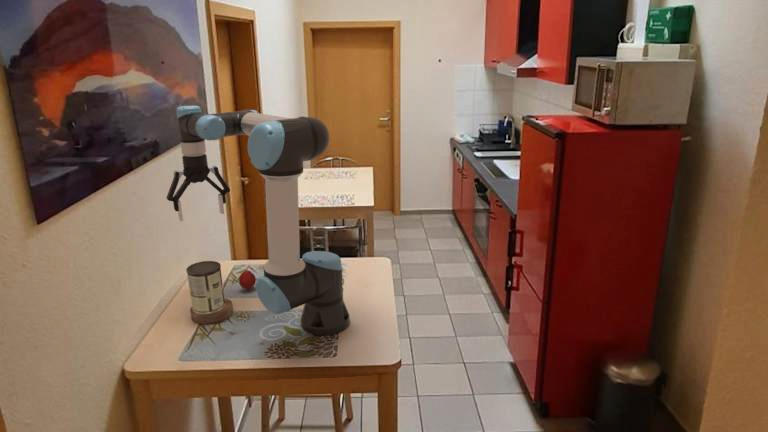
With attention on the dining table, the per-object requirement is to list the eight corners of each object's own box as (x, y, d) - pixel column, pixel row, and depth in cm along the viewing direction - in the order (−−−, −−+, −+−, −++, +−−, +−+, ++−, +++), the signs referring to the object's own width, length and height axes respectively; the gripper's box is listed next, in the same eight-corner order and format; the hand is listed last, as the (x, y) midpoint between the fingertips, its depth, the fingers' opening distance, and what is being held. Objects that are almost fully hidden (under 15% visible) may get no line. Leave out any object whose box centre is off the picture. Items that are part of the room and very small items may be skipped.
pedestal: (238, 317, 171) (237, 308, 170) (197, 328, 164) (195, 319, 163) (226, 302, 181) (225, 294, 180) (187, 312, 175) (186, 303, 174)
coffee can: (200, 299, 177) (195, 260, 173) (230, 300, 176) (225, 261, 171) (186, 314, 167) (180, 272, 163) (217, 315, 166) (212, 273, 162)
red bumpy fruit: (242, 286, 193) (240, 265, 191) (258, 286, 193) (256, 265, 191) (238, 293, 188) (235, 272, 185) (254, 293, 188) (252, 272, 185)
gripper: (228, 148, 182) (234, 207, 188) (151, 156, 169) (160, 220, 176) (235, 151, 176) (241, 212, 182) (155, 160, 163) (165, 225, 170)
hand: (201, 216), depth 179 cm, fingers open, 13 cm apart
